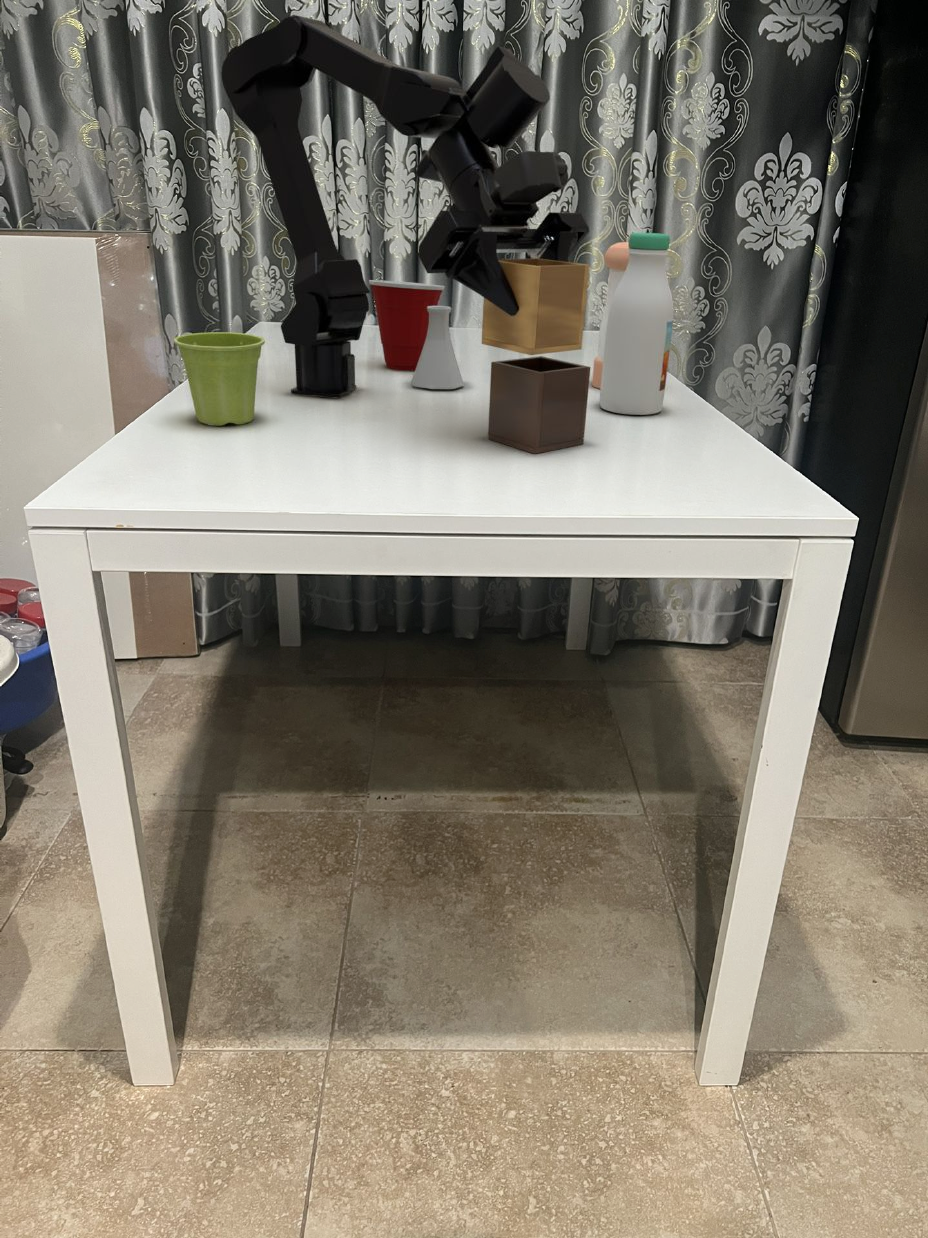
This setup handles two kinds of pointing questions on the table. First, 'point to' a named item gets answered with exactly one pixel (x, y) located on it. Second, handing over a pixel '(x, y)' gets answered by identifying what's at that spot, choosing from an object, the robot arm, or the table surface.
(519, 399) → the box
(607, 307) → the pepper shaker
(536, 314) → the light brown open box
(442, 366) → the flask
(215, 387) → the plant pot
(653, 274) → the milk bottle
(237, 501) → the table surface
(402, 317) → the plastic cup
